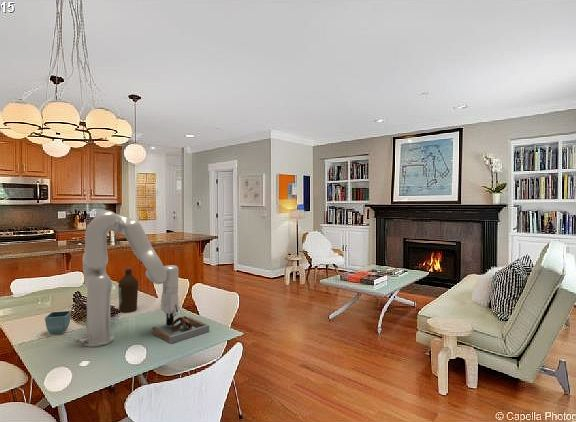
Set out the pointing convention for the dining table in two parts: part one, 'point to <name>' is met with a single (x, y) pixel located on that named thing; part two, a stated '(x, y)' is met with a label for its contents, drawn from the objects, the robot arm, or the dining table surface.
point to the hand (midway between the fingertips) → (169, 325)
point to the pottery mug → (181, 324)
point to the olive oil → (128, 292)
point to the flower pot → (58, 322)
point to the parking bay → (171, 339)
